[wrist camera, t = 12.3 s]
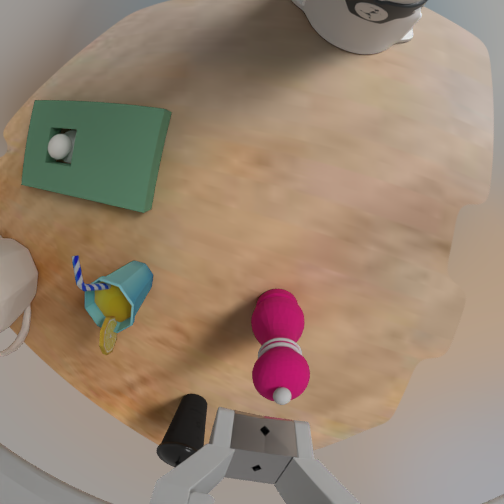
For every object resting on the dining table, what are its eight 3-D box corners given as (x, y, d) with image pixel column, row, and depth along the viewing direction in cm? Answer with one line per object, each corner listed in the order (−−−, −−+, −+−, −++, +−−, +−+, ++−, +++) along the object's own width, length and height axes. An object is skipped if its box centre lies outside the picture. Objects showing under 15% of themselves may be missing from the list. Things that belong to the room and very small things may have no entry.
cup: (104, 231, 43) (46, 261, 28) (148, 223, 42) (97, 253, 28) (127, 313, 47) (85, 365, 32) (169, 310, 46) (135, 367, 32)
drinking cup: (198, 420, 53) (178, 502, 34) (167, 399, 52) (137, 481, 33) (223, 404, 52) (207, 493, 32) (191, 382, 50) (163, 470, 31)
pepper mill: (296, 330, 46) (310, 427, 27) (250, 325, 46) (240, 422, 27) (304, 288, 44) (329, 376, 25) (255, 282, 44) (248, 369, 25)
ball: (69, 133, 39) (47, 132, 36) (77, 135, 37) (54, 133, 34) (65, 158, 40) (43, 157, 37) (72, 161, 38) (49, 160, 35)
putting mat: (45, 102, 37) (34, 100, 34) (171, 112, 38) (164, 108, 35) (32, 182, 41) (21, 184, 38) (151, 209, 42) (143, 212, 39)
